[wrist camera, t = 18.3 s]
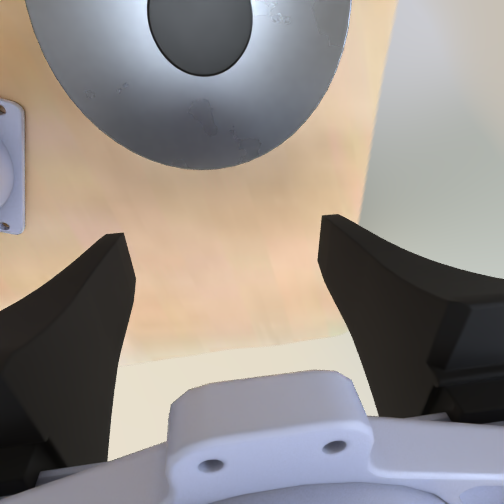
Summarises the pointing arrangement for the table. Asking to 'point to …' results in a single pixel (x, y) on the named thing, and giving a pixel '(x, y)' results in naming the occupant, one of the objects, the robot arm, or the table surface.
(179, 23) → the lid
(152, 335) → the table surface
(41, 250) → the table surface
